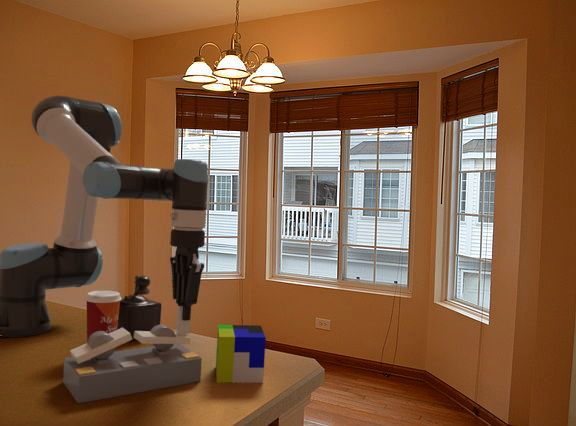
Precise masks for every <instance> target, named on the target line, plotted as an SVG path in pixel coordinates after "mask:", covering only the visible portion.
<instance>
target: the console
mask: <svg viewBox="0 0 576 426" xmlns="http://www.w3.org/2000/svg"><path fill="white" fill-rule="evenodd" d="M201 375H202V357H201V356H200V355H198V353H195V352H194V351H192V350H190V349H189V348H186V347H185V346H184V345H183V344H174V345H173V346H172V347H171V348H170V349H169V350H166V351H161V350H159V349H157V348H156V347H155V346H153V345H152V346H148V347H147V346H146V347H139V348H130V349H125V350H124V349H123V350H115V351H114V353H113V354H112V355H111V356H110V357H108V358H106V359H98V358H96V357H93V358H90V359H88V360H86V361H84V362H82V363H79V364H78V363H77V362H76V361H75V359H74V358H73V357H72V356H70V357H64V358H63V379H62V383H63V385H64V386H65V387H66V389H67V390H68V391H69V393H70V394H71V396H72V397H73V399H74V400H75V402H76V403H77V404H82V403H88V402H94V401H99V400H104V399H110V398H115V397H120V396H122V397H123V396H126V395H132V394H136V393H137V394H138V393H142V392H148V391H154V390H159V389H164V388H170V387H176V386H182V385H187V384H192V383H197V382H201V377H202V376H201Z"/></svg>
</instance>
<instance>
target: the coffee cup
mask: <svg viewBox="0 0 576 426" xmlns="http://www.w3.org/2000/svg"><path fill="white" fill-rule="evenodd" d="M121 299H123V298H122V297H121V293H120V292H118V291H116V290H115V291H113V290H93V291H89V292H88V293H87V295H86V297H85V299H84V300H85V301H86V342H87V341H88V339H89V337H90V336H91V335H92V334H93V333H95V332H97V331H104V332H106V333H108V334H109V333H111V332H113V331H116V330H117V324H118V315H119V306H120V300H121Z"/></svg>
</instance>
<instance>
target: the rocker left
mask: <svg viewBox="0 0 576 426" xmlns="http://www.w3.org/2000/svg"><path fill="white" fill-rule="evenodd" d="M130 340H132V337H131V334H130V333H129V332H128V331H127V330H125V329H124V328H123V327H122V328H120V329H118V330H116V331H113V332H111V333H109V334H108V333H106V332H104V331H97V332H95V333H93V334H92V335H91V336H90V337H89V339H88V341H87V340H86V342H85V343H83V344H81V345H80V346H77V347H75V348H73V349H70V351H69V352H70V354H71V357H73V358H74V359H75V361H76V362H77V363H78V364H79V363H82V362H84V361H86V360H88V359H90V358H93V357H96V358H98V359H106V358H108V357H110V356H111V355H112V354H113V353H114V352H115V351H116V348H117V347H119V346H121V345H124V344H126V343H128V342H129V341H130ZM130 342H131V341H130Z"/></svg>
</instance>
